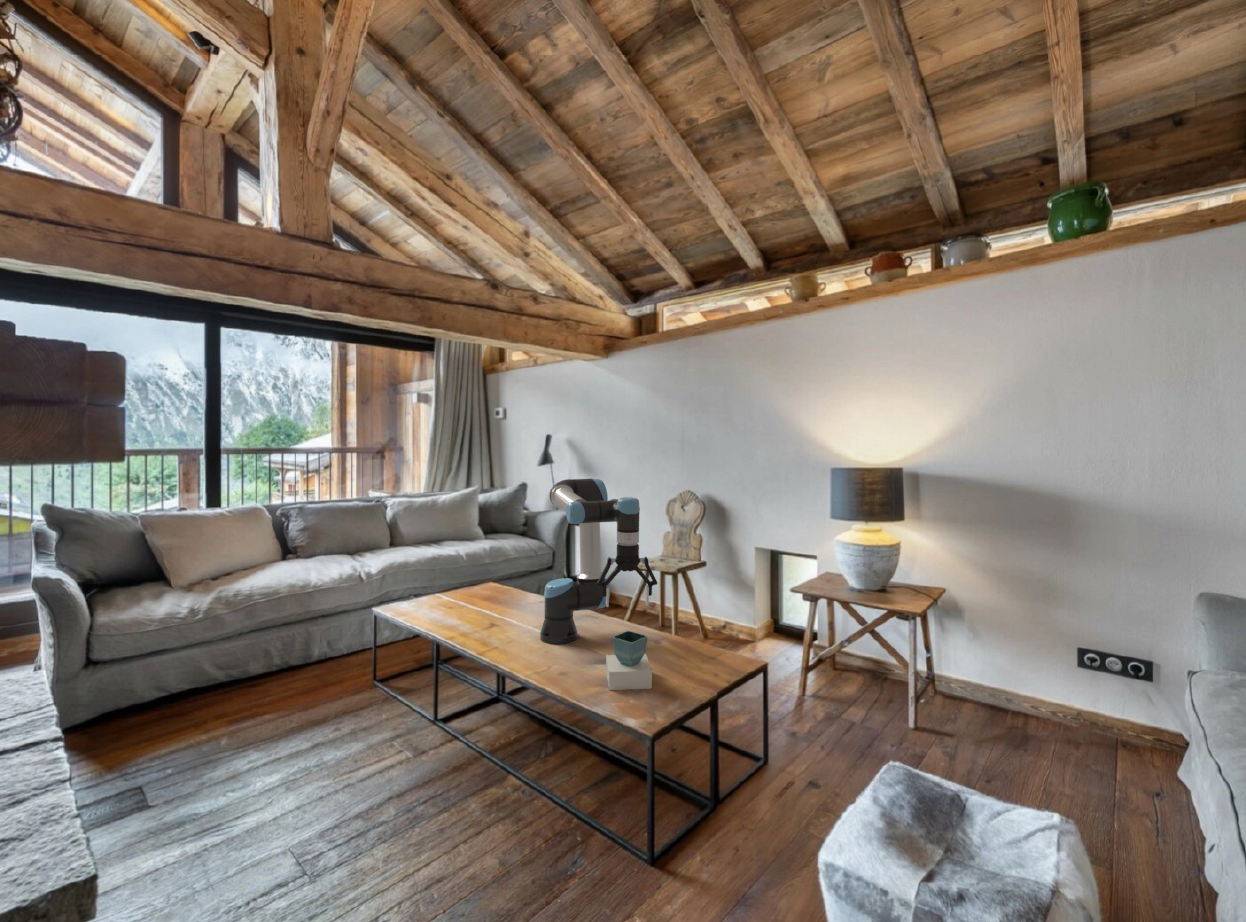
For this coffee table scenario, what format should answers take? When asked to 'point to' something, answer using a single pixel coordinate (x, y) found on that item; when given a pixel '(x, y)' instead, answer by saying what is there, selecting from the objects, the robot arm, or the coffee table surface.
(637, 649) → the flower pot
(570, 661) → the coffee table surface
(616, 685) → the stone slab
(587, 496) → the robot arm
